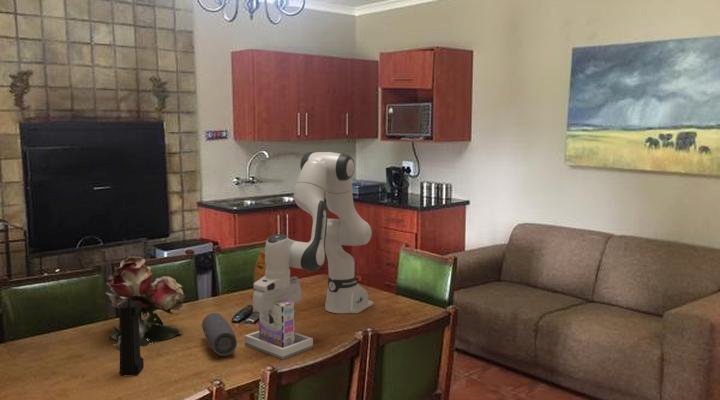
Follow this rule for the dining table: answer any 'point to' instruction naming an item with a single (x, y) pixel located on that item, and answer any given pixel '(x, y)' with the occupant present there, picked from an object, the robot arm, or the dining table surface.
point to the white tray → (300, 346)
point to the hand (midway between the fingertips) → (278, 318)
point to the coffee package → (260, 267)
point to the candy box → (278, 324)
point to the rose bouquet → (145, 299)
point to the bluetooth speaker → (219, 334)
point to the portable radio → (130, 339)
